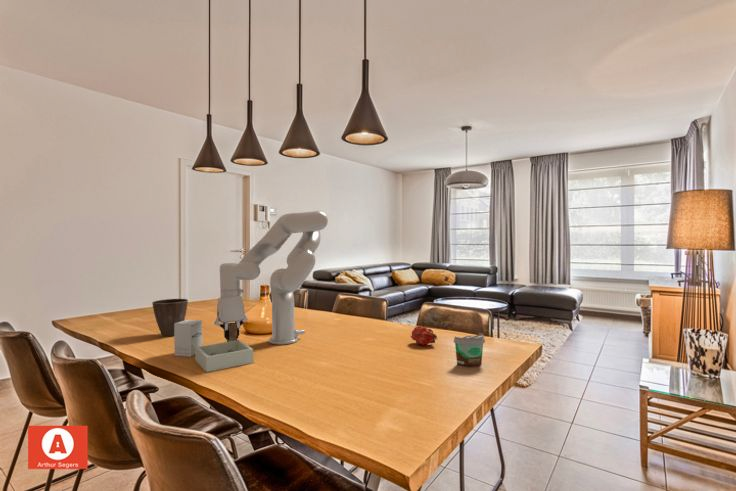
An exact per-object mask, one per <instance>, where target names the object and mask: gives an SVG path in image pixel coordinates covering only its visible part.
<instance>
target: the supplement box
mask: <svg viewBox="0 0 736 491" xmlns="http://www.w3.org/2000/svg"><path fill="white" fill-rule="evenodd" d="M173 337H174V338H173V339H174V356H175V357H188V358H189V357H192V356H195V347H198V346H203V320H201V319H185V320H184V321H181V322H178V323H175V324H174V336H173Z"/></svg>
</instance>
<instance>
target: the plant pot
mask: <svg viewBox="0 0 736 491" xmlns="http://www.w3.org/2000/svg"><path fill="white" fill-rule="evenodd" d="M188 302H189V299H188V298H168V299H167V298H166V299H158V300H154V301H152V302H151V303H152V308H153V314H154V317H155V321H156V325H157V327H158V329H159V332H160V334H161V336H162V337H165V336H168V337H174V324H175V323H178V322H181V321H185V320H186V315H187V310H188Z"/></svg>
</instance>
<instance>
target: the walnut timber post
mask: <svg viewBox="0 0 736 491" xmlns="http://www.w3.org/2000/svg"><path fill="white" fill-rule="evenodd" d="M228 330H229V340H227V339H226V342H229V341H235V340H238V338H237V324H236V323H235V321H234V322H228Z"/></svg>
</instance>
